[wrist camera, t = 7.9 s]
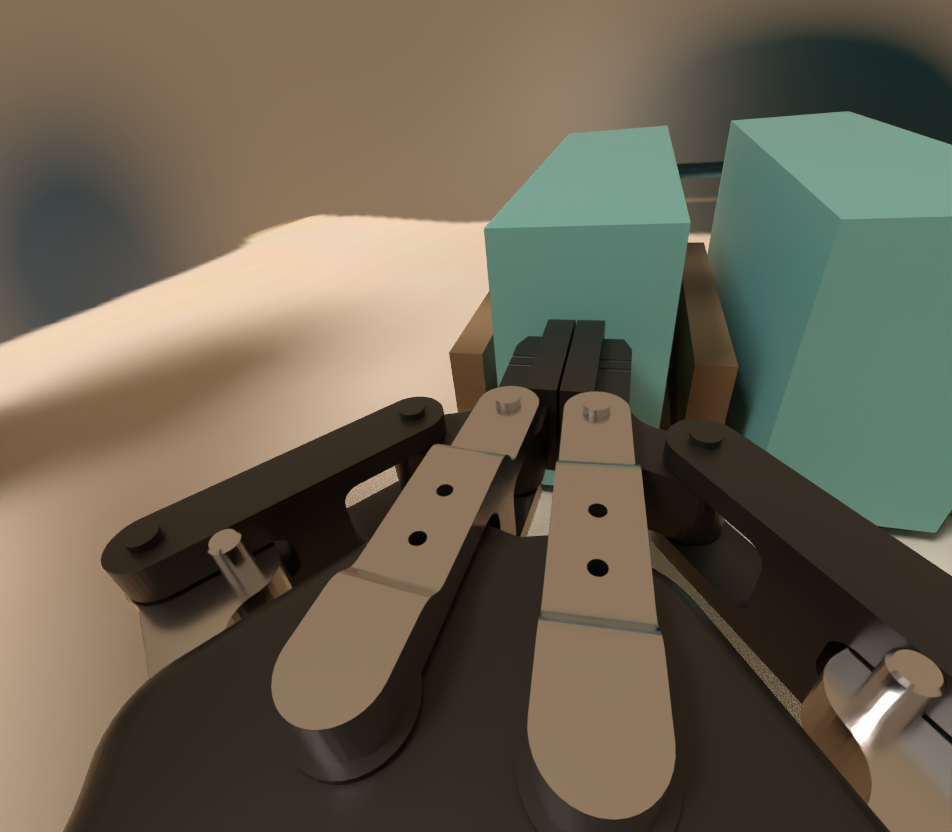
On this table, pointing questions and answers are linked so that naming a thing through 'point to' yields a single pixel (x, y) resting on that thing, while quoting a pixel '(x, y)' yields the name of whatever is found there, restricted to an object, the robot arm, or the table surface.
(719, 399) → the slot block
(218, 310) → the table surface
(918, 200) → the plunger middle
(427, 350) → the table surface
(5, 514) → the table surface
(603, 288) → the plunger
